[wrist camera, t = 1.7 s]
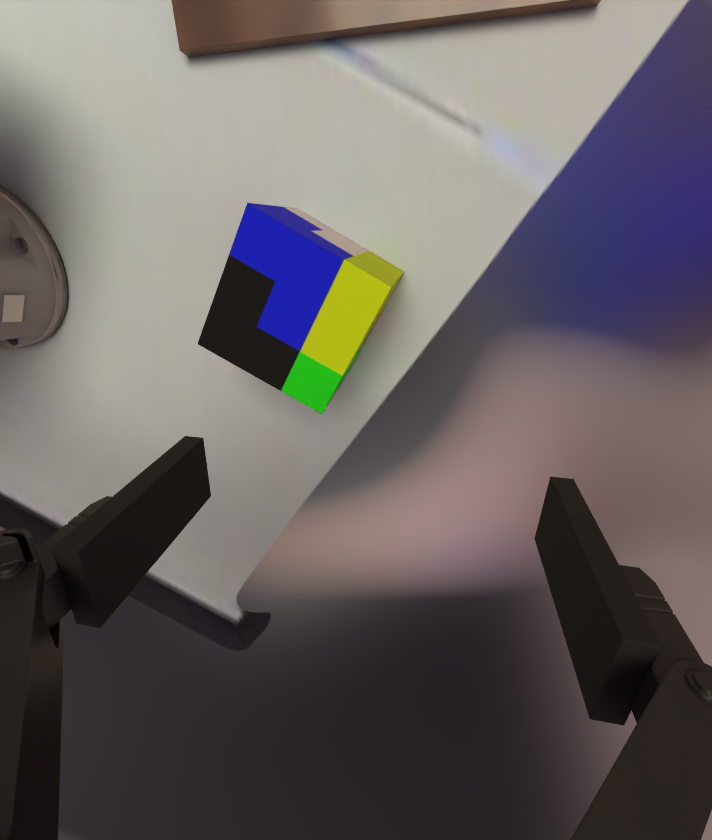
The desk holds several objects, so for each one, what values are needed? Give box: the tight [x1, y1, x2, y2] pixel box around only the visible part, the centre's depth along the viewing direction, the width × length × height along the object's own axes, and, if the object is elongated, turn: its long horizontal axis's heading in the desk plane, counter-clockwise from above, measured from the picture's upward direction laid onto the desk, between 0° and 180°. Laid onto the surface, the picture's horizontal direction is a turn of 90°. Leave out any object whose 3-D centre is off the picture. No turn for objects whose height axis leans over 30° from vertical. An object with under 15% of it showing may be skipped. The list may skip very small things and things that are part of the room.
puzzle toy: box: [198, 203, 404, 414], centre depth 33 cm, size 10×10×10 cm
